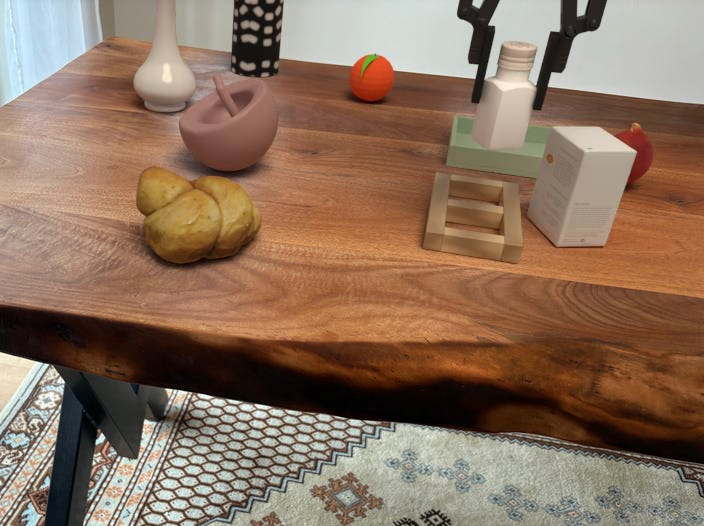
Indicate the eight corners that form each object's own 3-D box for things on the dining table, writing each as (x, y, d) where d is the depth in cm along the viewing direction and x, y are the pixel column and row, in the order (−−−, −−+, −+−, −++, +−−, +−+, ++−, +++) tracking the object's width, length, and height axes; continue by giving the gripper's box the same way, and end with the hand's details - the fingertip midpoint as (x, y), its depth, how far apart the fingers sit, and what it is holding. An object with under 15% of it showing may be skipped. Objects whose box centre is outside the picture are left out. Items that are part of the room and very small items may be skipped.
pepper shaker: (502, 137, 79) (526, 39, 73) (523, 151, 76) (550, 49, 70) (467, 139, 78) (489, 40, 72) (487, 153, 75) (512, 51, 69)
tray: (561, 148, 107) (567, 129, 105) (568, 183, 97) (575, 161, 95) (450, 134, 110) (454, 115, 109) (445, 166, 100) (450, 145, 98)
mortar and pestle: (171, 152, 100) (171, 60, 93) (260, 149, 102) (267, 59, 95) (187, 188, 90) (188, 89, 84) (285, 184, 92) (294, 87, 86)
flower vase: (239, 116, 113) (250, -78, 99) (114, 122, 108) (106, -81, 94) (216, 91, 123) (223, -89, 109) (101, 95, 119) (92, -92, 104)
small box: (605, 248, 82) (639, 151, 76) (554, 248, 81) (585, 151, 75) (571, 216, 88) (600, 125, 82) (524, 216, 88) (550, 124, 82)
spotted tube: (243, 78, 130) (250, -56, 118) (223, 66, 136) (228, -63, 124) (286, 75, 133) (298, -56, 121) (265, 62, 139) (273, -63, 127)
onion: (623, 177, 99) (645, 115, 94) (650, 195, 94) (675, 130, 90) (582, 178, 98) (602, 115, 94) (608, 196, 93) (630, 131, 89)
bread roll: (245, 221, 83) (250, 149, 79) (282, 261, 76) (289, 184, 72) (130, 235, 79) (128, 160, 75) (157, 279, 72) (156, 199, 68)
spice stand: (514, 199, 92) (518, 183, 90) (518, 264, 78) (523, 246, 77) (432, 187, 94) (435, 171, 92) (422, 248, 80) (426, 231, 79)
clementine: (377, 111, 118) (385, 63, 114) (336, 102, 121) (342, 55, 116) (396, 99, 123) (404, 53, 119) (357, 91, 126) (363, 45, 122)
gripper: (459, -199, 60) (408, 102, 73) (712, -190, 56) (609, 126, 70) (462, -196, 66) (414, 82, 79) (691, -188, 62) (600, 102, 75)
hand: (505, 102), depth 74 cm, fingers closed on pepper shaker, 5 cm apart
